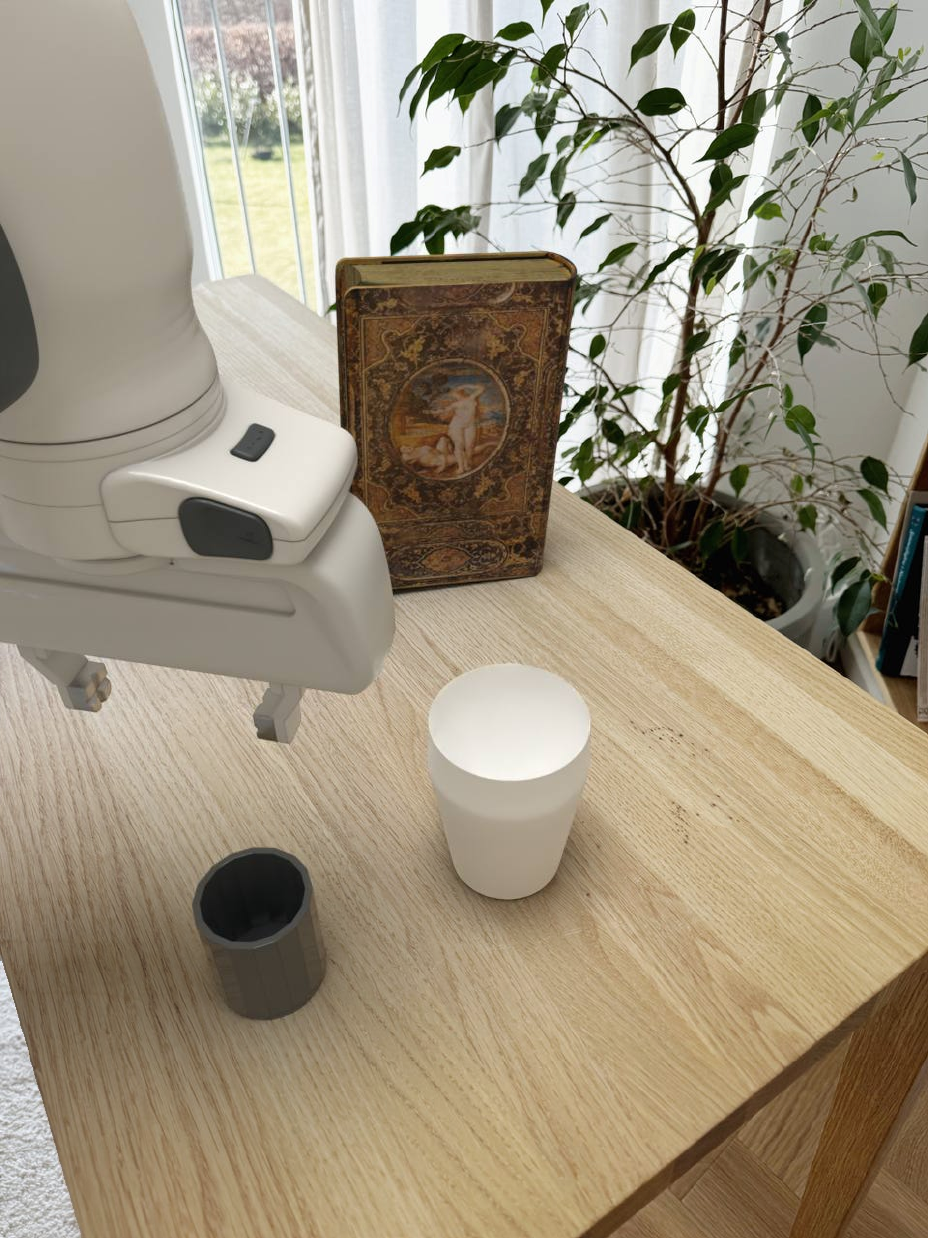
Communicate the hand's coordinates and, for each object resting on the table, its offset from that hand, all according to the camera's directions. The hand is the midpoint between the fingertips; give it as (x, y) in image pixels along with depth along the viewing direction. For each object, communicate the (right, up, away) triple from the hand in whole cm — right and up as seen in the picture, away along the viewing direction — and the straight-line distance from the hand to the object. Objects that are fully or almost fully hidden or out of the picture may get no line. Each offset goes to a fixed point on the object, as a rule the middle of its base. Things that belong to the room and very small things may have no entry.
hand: (183, 716), depth 45 cm
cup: (+15, -10, +15) cm, 24 cm away
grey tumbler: (+2, -15, +9) cm, 18 cm away
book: (+11, +9, +37) cm, 40 cm away
